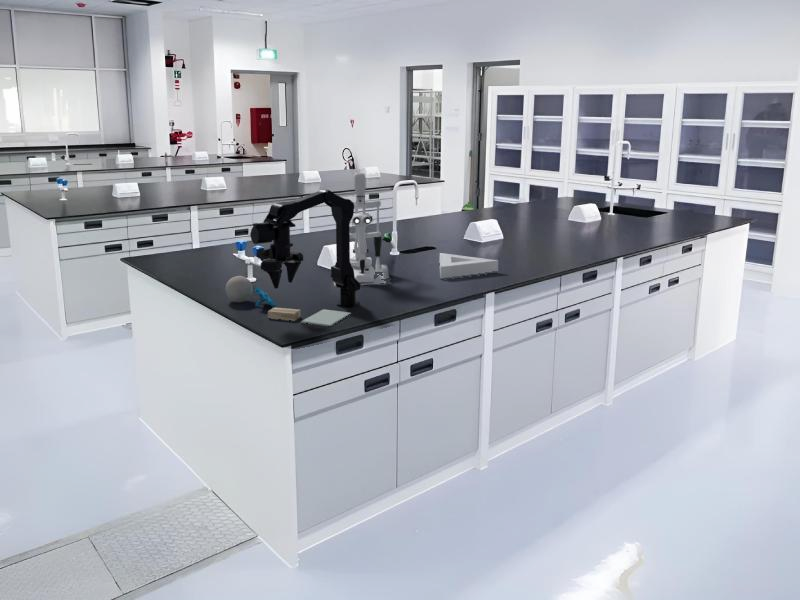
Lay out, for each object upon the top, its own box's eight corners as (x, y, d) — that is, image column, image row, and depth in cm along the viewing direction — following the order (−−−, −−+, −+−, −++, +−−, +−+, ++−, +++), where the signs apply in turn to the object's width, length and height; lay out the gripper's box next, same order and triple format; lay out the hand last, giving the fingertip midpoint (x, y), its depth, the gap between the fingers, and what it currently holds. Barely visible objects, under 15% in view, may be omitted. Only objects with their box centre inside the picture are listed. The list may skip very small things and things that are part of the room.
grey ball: (227, 306, 256) (225, 280, 254) (225, 299, 266) (224, 273, 263) (254, 304, 259) (253, 278, 256) (252, 297, 268) (251, 272, 266)
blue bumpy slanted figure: (275, 306, 251) (255, 286, 250) (264, 317, 252) (243, 298, 250) (278, 302, 262) (259, 283, 261) (267, 313, 263) (248, 294, 261)
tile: (274, 315, 247) (274, 307, 246) (300, 317, 244) (300, 309, 244) (268, 319, 242) (267, 311, 241) (294, 321, 240) (294, 313, 239)
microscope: (334, 287, 285) (332, 176, 273) (331, 272, 311) (330, 170, 299) (392, 286, 288) (393, 176, 276) (385, 271, 314) (385, 170, 302)
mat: (323, 310, 252) (323, 309, 252) (350, 314, 248) (350, 312, 248) (301, 322, 237) (301, 321, 237) (330, 326, 234) (330, 325, 233)
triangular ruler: (439, 266, 328) (439, 252, 327) (494, 266, 327) (495, 253, 326) (440, 281, 299) (440, 266, 298) (501, 282, 298) (501, 267, 297)
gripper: (275, 234, 247) (277, 277, 251) (245, 243, 231) (248, 289, 235) (303, 237, 243) (304, 280, 247) (274, 246, 227) (276, 292, 231)
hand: (283, 285), depth 240 cm, fingers open, 9 cm apart
